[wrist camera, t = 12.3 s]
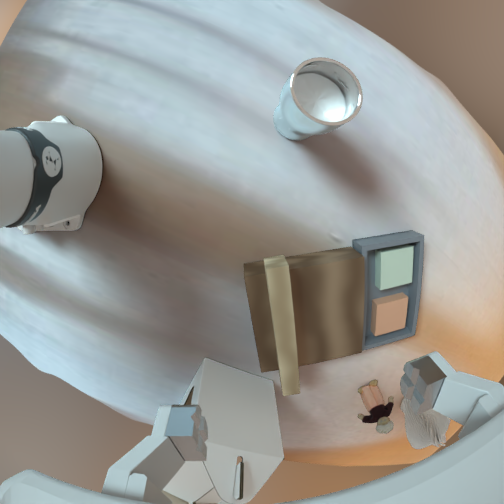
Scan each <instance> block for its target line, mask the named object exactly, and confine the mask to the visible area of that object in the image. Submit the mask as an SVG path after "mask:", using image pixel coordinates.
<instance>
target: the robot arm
mask: <svg viewBox="0 0 504 504" xmlns="http://www.w3.org/2000/svg"><path fill="white" fill-rule="evenodd" d="M101 177H102V157H101V152H100V149H99V146H98V144H97V142H96V140H95V139H94V137H93V136H92V135H91V134H90V133H89V132H88V131H86V130H85V129H83V128H81V127H77V126H75V125H73V124H72V123H71V122H70V121H69V120H68V118H67V117H65V116H57V117H56V118H54V119H53V120H52V121H51V122H49V121H34V122H32V123H31V125H29V126H28V127H16V128H9V129H7V130H0V228H2V227H10V228H11V227H17V228H18V229H19V230H20V231H23V234H24V235H28V234H32V233H35V231H74V230H78V229H79V228H80V227H81V225H82V222H83V218H84V214H85V211H86V210H87V208H88V207H89V205H90V204H91V203H92V201H93V200H94V198H95V196H96V194H97V192H98V189H99V186H100V182H101ZM68 221H69V223H70V224H68ZM403 370H404V372H405V374H404V375H403V376H402V378H401V382H400V386H401V391H402V394H403V395H404V397H405V398H407V399H409V400H410V406H411V408H412V409H413V411H414V413H415V414H416V415H418V414H421V413H423V412H425V411H428V410H430V409H432V408H433V410H435V411H437V412H439V413H441V414H442V415H444V416H446V417H448V418H450V419H452V420H454V421H456V422H458V423H460V424H462V425H464V427H463V428H462V430H461V432H460V433H459V436H458V437H459V438H460V440H459V441H457V442H456V443H454V444H452V445H450V446H449V447H447V448H445V449H443V450H441V451H439V452H437V453H436V454H434V455H432V456H430V457H428V458H426V459H424V460H422V461H420V462H417V463H415V464H413V465H411V466H409V467H406V468H404V469H402V470H400V471H397V472H395V473H392V474H390V475H387V476H384V477H382V478H379V479H376V480H373V481H370V482H367V483H364V484H361V485H358V486H355V487H352V488H349V489H345V490H341V491H338V492H334V493H330V494H325V495H321V496H316V497H312V498H307V499H302V500H296V501H290V502H283V503H276V504H504V387H503V385H501V384H500V383H497V382H494V381H490V380H487V379H484V378H480V377H477V376H474V375H470V374H467V373H464V372H461V371H458V372H456V371H455V370H454V369H453V368H452V366H451V365H450V364H449V363H448V362H447V361H446V360H445V359H444V358H443V357H442V356H441V355H440V354H439V353H438V352H436V351H435V352H432V353H430V354H427V355H425V356H422V357H420V358H417V359H415V360H412V361H409V362H407V363H406V364H405V365H404V369H403ZM201 412H202V410H201V408H200V406H199V405H160V407H159V408H158V412H157V415H156V419H155V423H154V427H153V431H152V434H151V436H147V437H146V438H144V440H142V441H141V442H140V443H139V444H138V445H136V446H135V447H134V448H133V449H132V450H130V451H129V452H128V453H127V454H126V455H124V456H123V457H122V458H121V459H120V460H118V461H117V462H116V463H115V464H113V465H112V466H111V467H110V468H109V470H108V473H107V476H106V479H105V483H104V486H103V489H102V492H101V493H99V492H95V491H92V490H88V489H84V488H81V487H78V486H75V485H72V484H69V483H66V482H63V481H60V480H58V479H55V478H53V477H50V476H47V475H45V474H43V473H40V472H38V471H36V470H32V469H28V470H25V471H22V472H20V473H18V474H16V475H14V476H13V477H11V478H9V479H7V480H5V481H4V482H3V483H2V485H1V486H0V504H172V501H171V500H170V499H169V498H168V497H167V496H166V495H165V494H164V493H163V492H161V491H162V490H163V489H164V488H165V486H166V485H167V484H168V483H169V482H170V480H171V479H172V478H173V477H174V476H175V474H176V473H177V472H178V471H179V469H180V468H181V467H182V466H183V464H184V463H185V461H206V457H207V446H206V444H205V441H206V440H207V439H208V426H207V422H206V419H205V417H203V416H202V415H201Z"/></svg>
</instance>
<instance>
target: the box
mask: <svg viewBox="0 0 504 504" xmlns="http://www.w3.org/2000/svg"><path fill="white" fill-rule="evenodd" d="M402 244H410V245H412V246H414V247H413V273H412V283H408V284H404V285H400V286H396V287H392V288H388V289H384V290H380V289H379V288H378V287H376V286H375V249H380V248H386V247H391V246H397V245H402ZM353 248H354V249H355V250H356V251H358V252H359V253H360V254H362V255H363V256H364V264H365V291H364V323H363V341H362V351H363V350H367V349H370V348H374V347H378V346H381V345H385V344H388V343H391V342H395V341H398V340H401V339H404V338H407V337H410V336H413V335H415V330H416V324H417V317H418V310H419V302H420V294H421V283H422V271H423V254H424V235H422V234H420V233H417V232H415V231H413V230H410V231H404V232H398V233H392V234H386V235H380V236H373V237H367V238H361V239H355V240H353ZM401 292H403V293H404V294H405V295H407V296H408V306H407V315H406V323H405V328H402V329H399V330H396V331H392V332H389V333H385V334H382V335H378V336H374V334H373V333H372V332H371V330H370V329H371V312H372V300H373V299H377V298H381V297H385V296H389V295H393V294H397V293H401Z"/></svg>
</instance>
